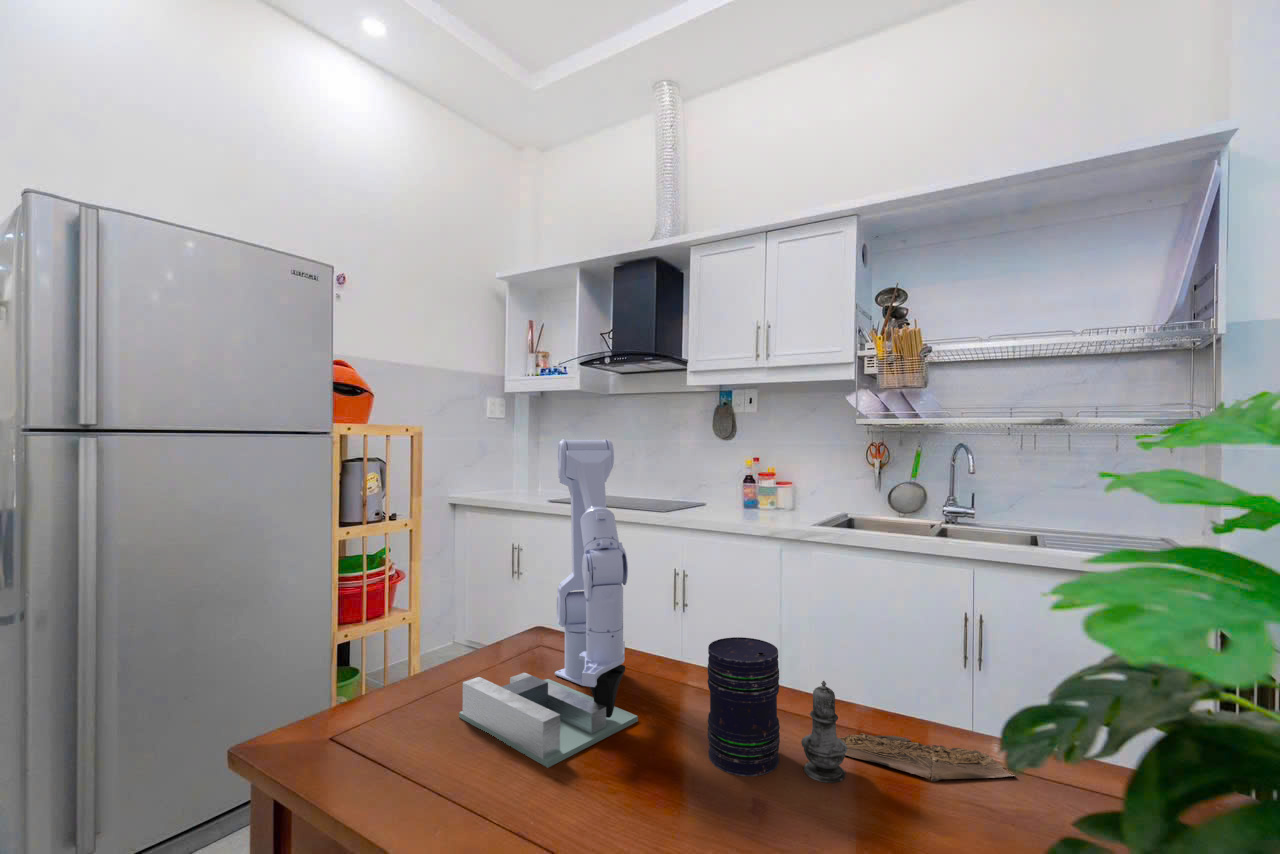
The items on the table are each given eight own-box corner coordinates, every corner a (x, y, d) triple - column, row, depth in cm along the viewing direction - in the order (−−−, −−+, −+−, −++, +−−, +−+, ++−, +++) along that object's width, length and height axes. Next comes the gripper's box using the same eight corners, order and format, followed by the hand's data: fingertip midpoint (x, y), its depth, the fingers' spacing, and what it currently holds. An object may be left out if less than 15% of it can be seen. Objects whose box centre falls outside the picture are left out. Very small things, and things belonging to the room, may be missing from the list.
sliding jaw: (524, 689, 104) (524, 672, 104) (606, 726, 91) (606, 706, 91) (509, 695, 102) (509, 677, 102) (591, 734, 89) (591, 713, 89)
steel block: (532, 706, 98) (532, 675, 98) (547, 714, 95) (548, 682, 95) (501, 719, 93) (501, 686, 94) (516, 727, 91) (516, 694, 91)
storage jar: (693, 757, 84) (693, 649, 84) (733, 732, 91) (733, 632, 91) (755, 785, 77) (754, 667, 77) (793, 756, 84) (792, 648, 84)
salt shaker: (823, 788, 76) (823, 693, 77) (792, 766, 82) (791, 676, 82) (857, 777, 79) (856, 684, 79) (824, 755, 84) (824, 669, 84)
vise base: (547, 683, 109) (547, 650, 109) (637, 721, 95) (637, 683, 95) (459, 717, 96) (459, 680, 96) (547, 767, 81) (547, 724, 81)
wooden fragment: (1007, 758, 84) (1007, 751, 84) (1025, 803, 74) (1025, 794, 74) (815, 727, 93) (815, 720, 93) (807, 762, 83) (807, 754, 83)
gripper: (596, 612, 102) (596, 693, 101) (562, 639, 88) (562, 734, 87) (636, 615, 100) (636, 698, 99) (608, 644, 86) (608, 740, 86)
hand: (604, 715), depth 93 cm, fingers closed
